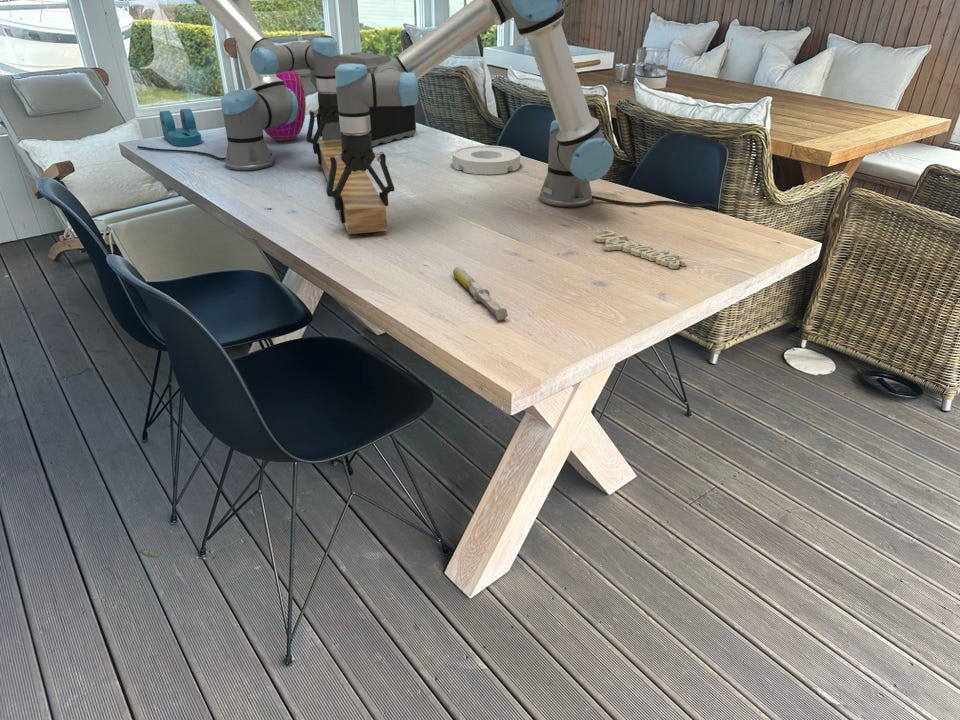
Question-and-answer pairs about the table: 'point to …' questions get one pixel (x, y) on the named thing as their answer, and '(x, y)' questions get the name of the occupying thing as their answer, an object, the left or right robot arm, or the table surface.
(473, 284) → the syringe
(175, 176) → the table surface
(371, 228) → the wooden beam
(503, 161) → the ashtray
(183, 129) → the camera mount
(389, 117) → the electronic device
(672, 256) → the decorative sign
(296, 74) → the decorative egg
